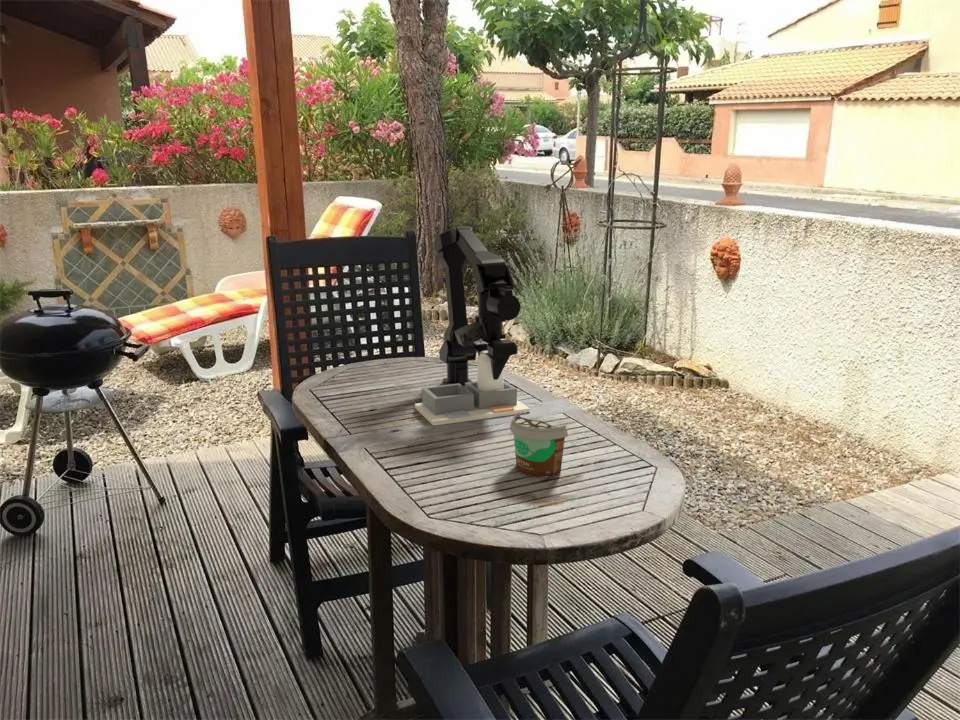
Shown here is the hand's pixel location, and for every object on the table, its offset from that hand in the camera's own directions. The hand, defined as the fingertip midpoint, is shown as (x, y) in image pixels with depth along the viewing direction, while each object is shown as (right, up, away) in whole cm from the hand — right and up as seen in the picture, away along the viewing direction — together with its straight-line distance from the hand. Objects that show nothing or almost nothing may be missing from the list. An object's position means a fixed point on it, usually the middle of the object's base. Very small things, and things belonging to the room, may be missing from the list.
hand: (490, 375), depth 185 cm
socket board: (-5, -8, -2) cm, 9 cm away
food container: (+7, -18, -38) cm, 42 cm away
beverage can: (0, -6, +1) cm, 6 cm away
